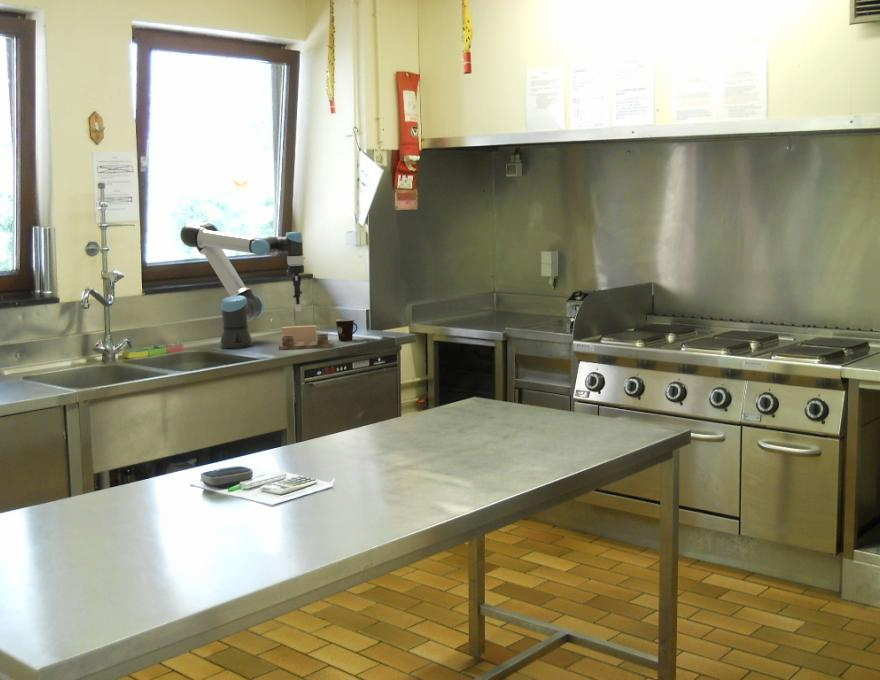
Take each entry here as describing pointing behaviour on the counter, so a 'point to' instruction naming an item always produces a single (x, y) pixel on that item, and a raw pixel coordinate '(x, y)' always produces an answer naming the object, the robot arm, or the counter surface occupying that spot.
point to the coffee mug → (345, 329)
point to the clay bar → (300, 333)
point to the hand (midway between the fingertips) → (298, 309)
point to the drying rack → (305, 343)
